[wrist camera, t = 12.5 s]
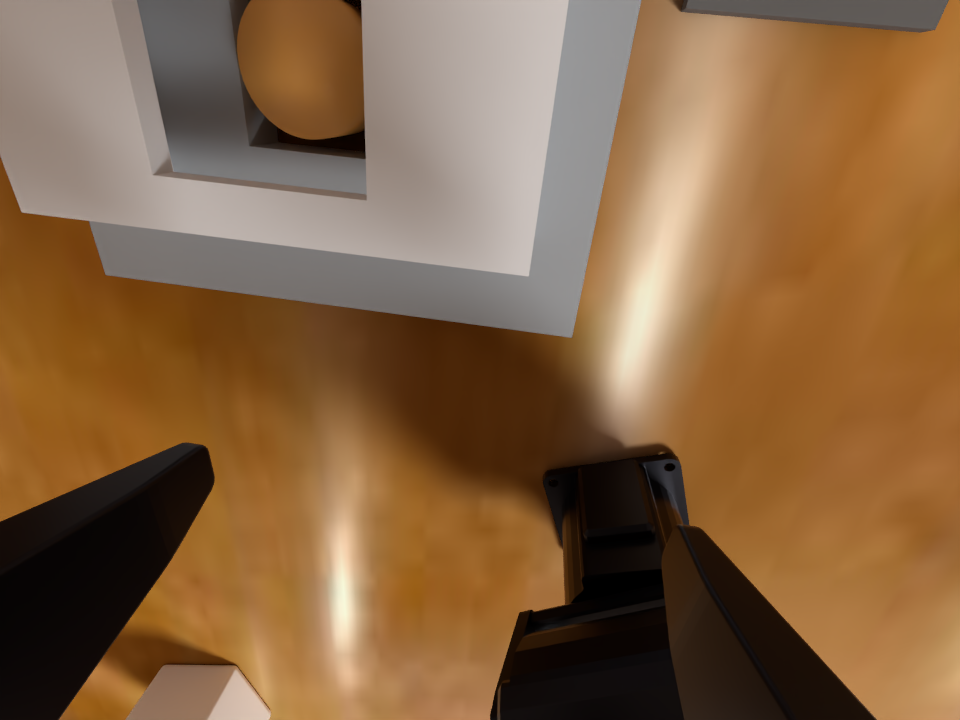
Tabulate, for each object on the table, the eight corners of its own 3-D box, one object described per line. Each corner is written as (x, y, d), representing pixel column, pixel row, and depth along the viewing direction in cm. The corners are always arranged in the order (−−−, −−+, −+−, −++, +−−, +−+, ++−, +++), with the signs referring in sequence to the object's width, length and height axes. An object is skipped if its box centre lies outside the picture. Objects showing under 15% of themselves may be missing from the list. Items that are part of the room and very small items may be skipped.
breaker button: (392, 141, 17) (369, 146, 15) (285, 129, 17) (248, 132, 15) (392, 3, 15) (365, -14, 13) (272, -8, 15) (226, -26, 13)
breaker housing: (569, 317, 20) (578, 394, 14) (142, 260, 21) (7, 312, 16) (684, -264, 12) (794, -558, 7) (-7, -296, 13) (-376, -564, 8)
